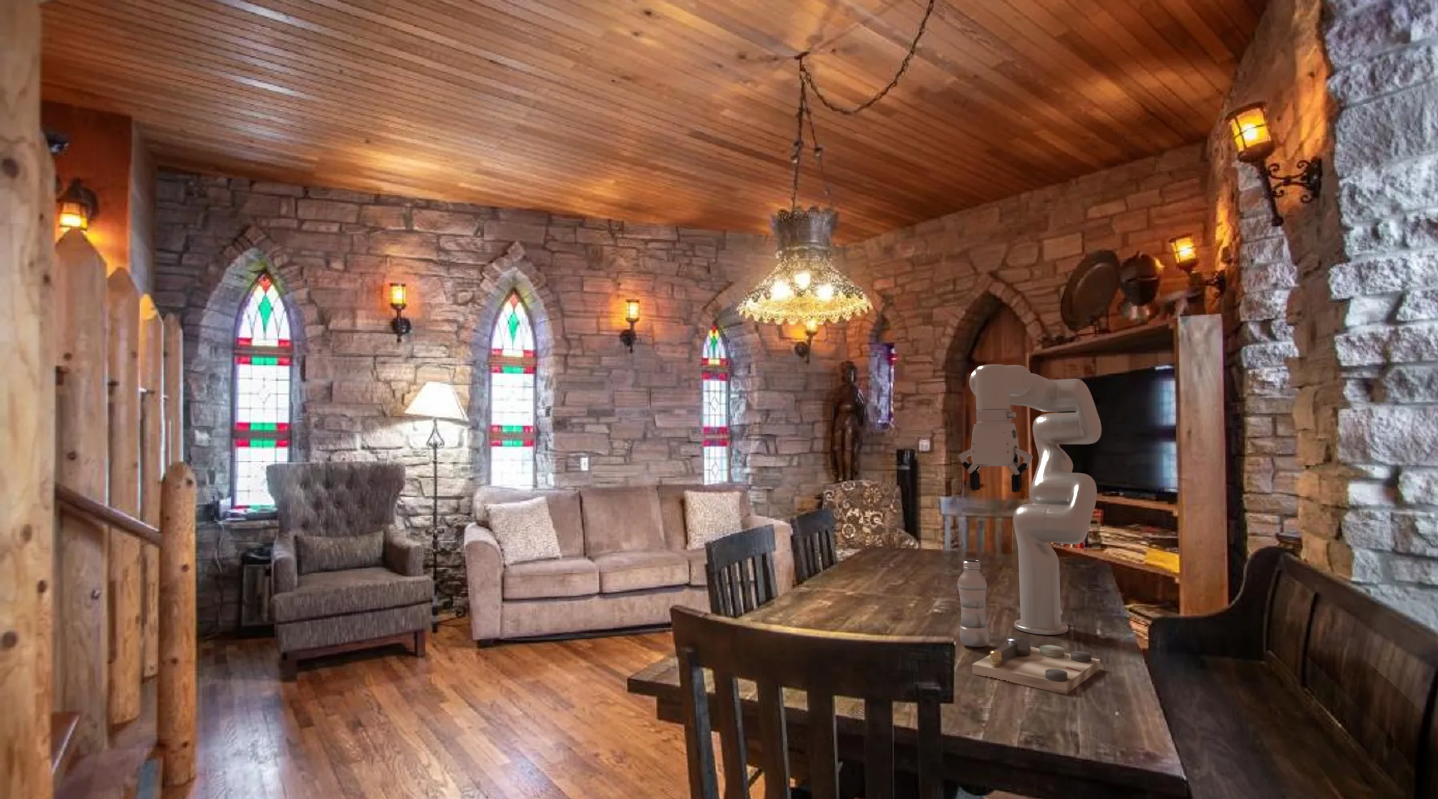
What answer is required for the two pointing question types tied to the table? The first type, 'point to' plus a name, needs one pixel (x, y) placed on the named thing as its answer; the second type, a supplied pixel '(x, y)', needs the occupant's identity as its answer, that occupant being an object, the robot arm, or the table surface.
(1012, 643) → the grey lever handle
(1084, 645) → the table surface
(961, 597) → the plastic bottle
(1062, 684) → the plate
